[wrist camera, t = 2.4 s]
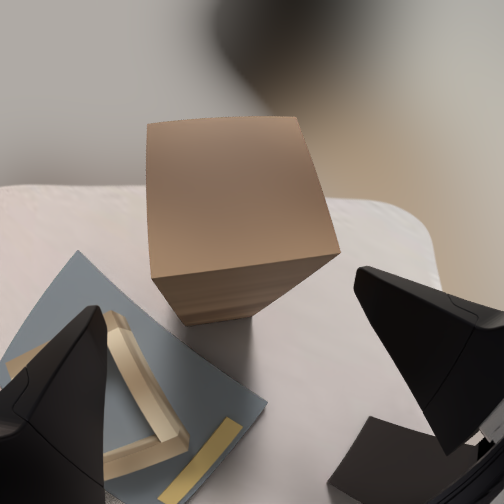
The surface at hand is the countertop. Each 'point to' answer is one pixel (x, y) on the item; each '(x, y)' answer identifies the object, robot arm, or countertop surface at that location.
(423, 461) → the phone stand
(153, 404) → the maple socket
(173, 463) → the slate board
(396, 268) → the countertop surface
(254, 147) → the walnut block
